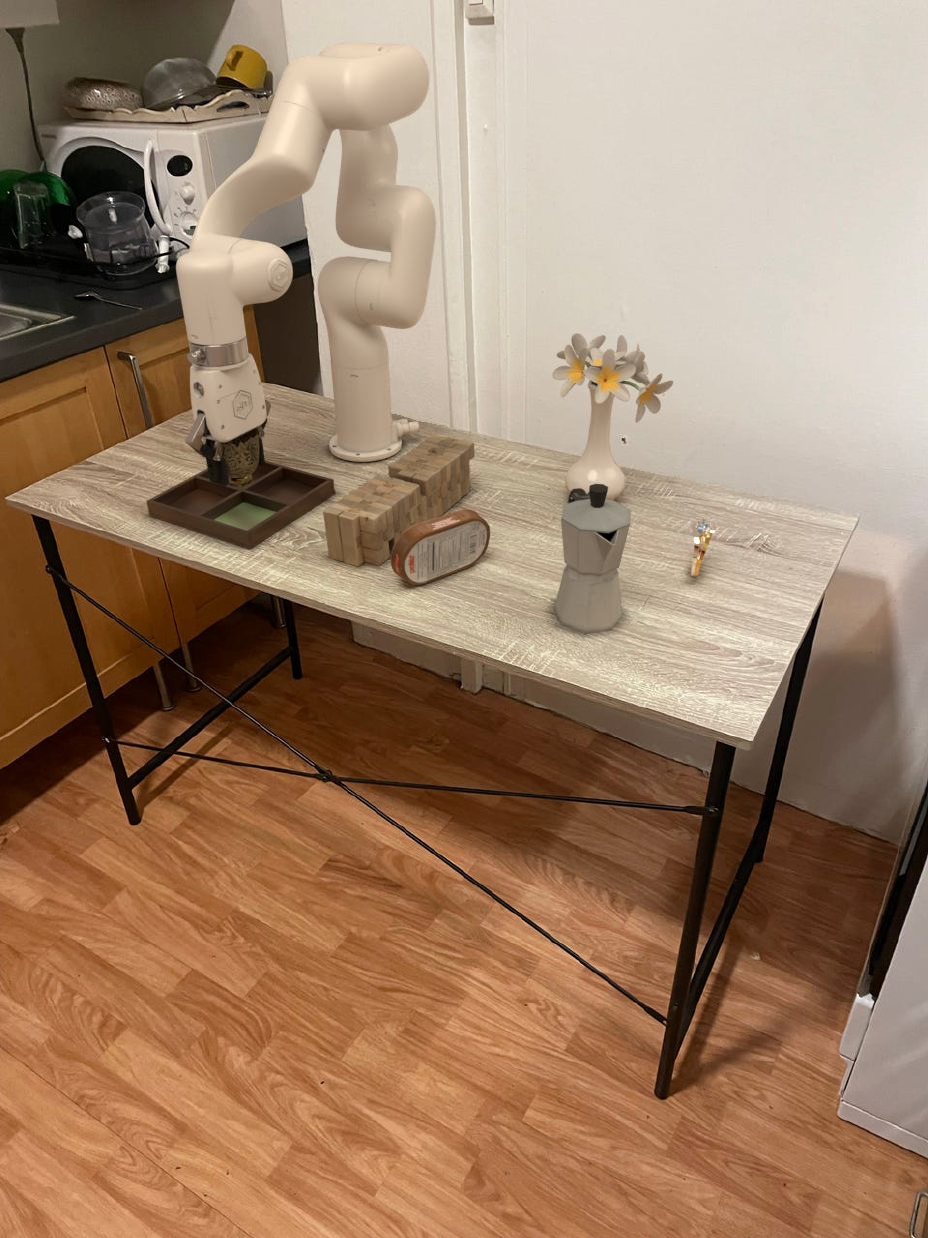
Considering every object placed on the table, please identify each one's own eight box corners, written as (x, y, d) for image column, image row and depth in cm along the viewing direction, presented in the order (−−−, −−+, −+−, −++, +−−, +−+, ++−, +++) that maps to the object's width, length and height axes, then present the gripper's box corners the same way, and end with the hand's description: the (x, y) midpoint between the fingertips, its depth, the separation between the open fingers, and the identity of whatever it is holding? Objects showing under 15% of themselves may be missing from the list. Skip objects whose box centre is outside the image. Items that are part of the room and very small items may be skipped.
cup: (259, 495, 130) (252, 442, 126) (208, 494, 130) (198, 441, 126) (270, 472, 136) (263, 421, 132) (220, 472, 136) (212, 421, 132)
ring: (702, 589, 122) (712, 536, 118) (678, 584, 123) (687, 532, 119) (711, 563, 128) (720, 512, 123) (688, 559, 129) (696, 508, 124)
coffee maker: (638, 637, 113) (654, 507, 103) (569, 646, 112) (579, 516, 102) (598, 575, 125) (609, 453, 115) (536, 582, 124) (542, 460, 114)
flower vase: (629, 535, 134) (648, 368, 120) (526, 499, 144) (532, 340, 130) (671, 502, 143) (693, 343, 129) (571, 470, 152) (581, 318, 138)
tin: (480, 552, 131) (480, 499, 126) (493, 561, 129) (494, 508, 124) (390, 586, 123) (387, 531, 119) (403, 596, 121) (400, 541, 117)
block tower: (373, 577, 127) (477, 487, 147) (368, 524, 122) (476, 439, 142) (327, 562, 130) (435, 476, 150) (321, 510, 125) (433, 429, 145)
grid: (239, 466, 154) (236, 452, 153) (335, 494, 146) (333, 479, 144) (149, 516, 140) (145, 500, 138) (250, 549, 132) (247, 533, 130)
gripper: (193, 375, 115) (215, 503, 125) (283, 337, 127) (296, 456, 137) (150, 364, 118) (175, 490, 128) (242, 329, 130) (258, 446, 140)
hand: (237, 472), depth 132 cm, fingers closed on cup, 7 cm apart
